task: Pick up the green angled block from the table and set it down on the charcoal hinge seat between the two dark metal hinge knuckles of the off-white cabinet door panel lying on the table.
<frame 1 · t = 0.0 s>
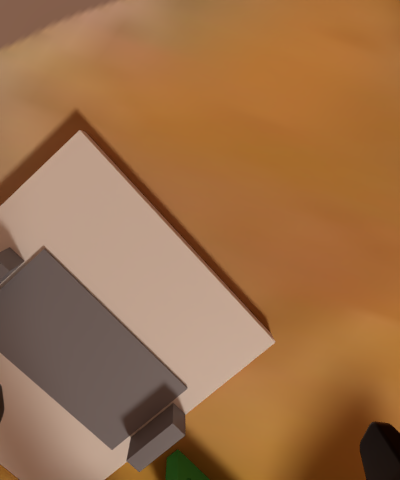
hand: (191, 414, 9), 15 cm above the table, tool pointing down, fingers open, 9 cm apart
door panel: (75, 335, 25), on the table
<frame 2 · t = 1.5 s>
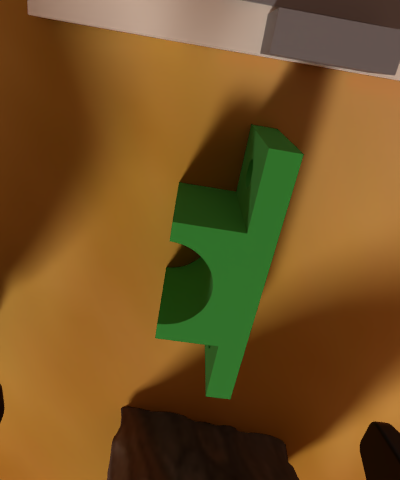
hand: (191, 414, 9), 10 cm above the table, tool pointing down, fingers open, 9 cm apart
green angled block: (212, 235, 18), on the table
grey brown rock block: (189, 456, 25), on the table
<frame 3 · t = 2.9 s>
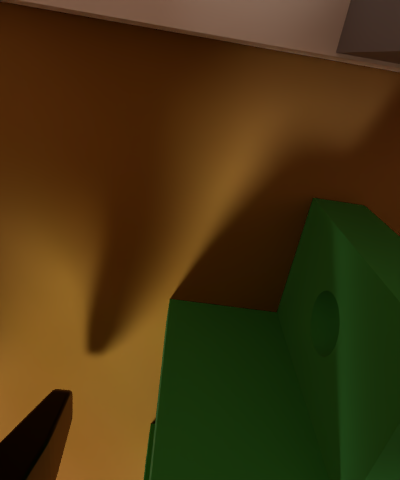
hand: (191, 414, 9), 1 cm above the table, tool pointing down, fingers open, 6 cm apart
green angled block: (230, 375, 10), on the table, touching gripper
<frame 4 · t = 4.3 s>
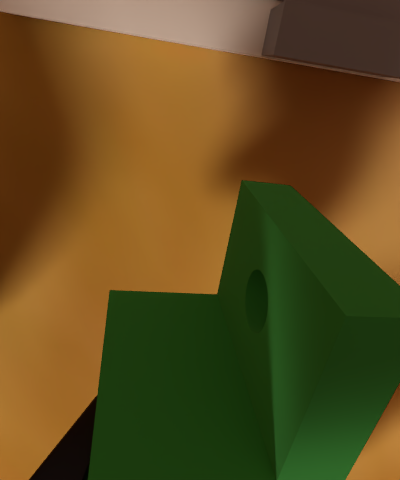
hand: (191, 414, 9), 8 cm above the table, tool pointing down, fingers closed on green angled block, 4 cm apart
green angled block: (178, 362, 10), point 6 cm above the table, touching gripper
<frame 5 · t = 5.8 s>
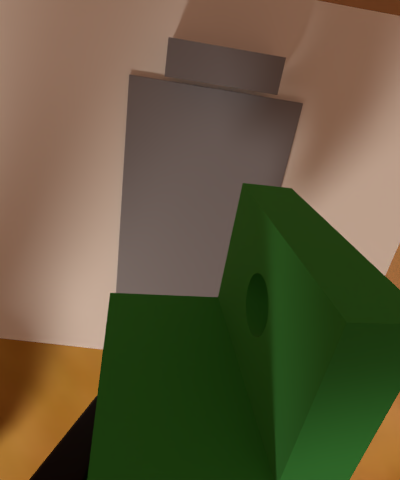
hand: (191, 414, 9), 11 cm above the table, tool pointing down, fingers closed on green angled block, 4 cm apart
green angled block: (179, 364, 10), point 9 cm above the table, touching gripper
door panel: (197, 205, 18), on the table
when the fingers open (3 cm above the table, at t = 7.9 s): green angled block stays where it is, resting on door panel.
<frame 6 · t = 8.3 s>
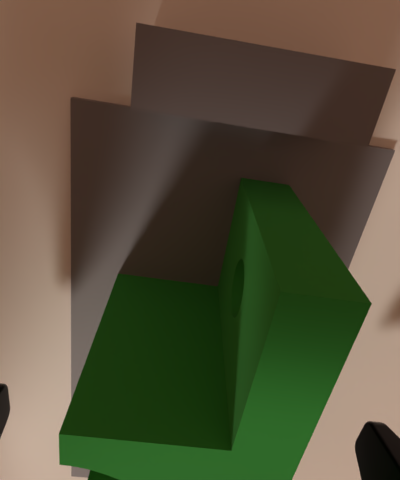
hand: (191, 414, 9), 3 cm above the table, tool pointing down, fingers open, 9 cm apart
green angled block: (181, 349, 11), point 1 cm above the table, touching door panel
door panel: (198, 297, 11), on the table
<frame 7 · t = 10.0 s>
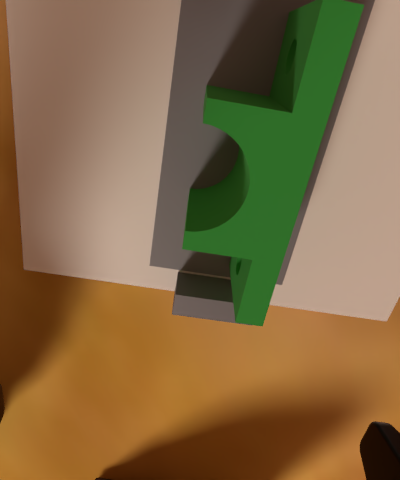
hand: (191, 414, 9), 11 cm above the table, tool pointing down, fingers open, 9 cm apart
green angled block: (240, 152, 16), point 1 cm above the table, touching door panel
door panel: (245, 123, 17), on the table
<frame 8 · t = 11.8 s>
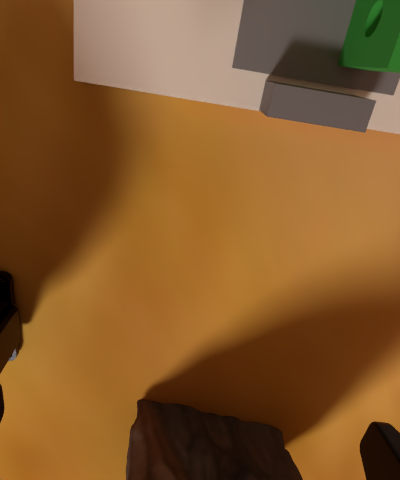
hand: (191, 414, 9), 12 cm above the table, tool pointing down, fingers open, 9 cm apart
grey brown rock block: (196, 444, 28), on the table
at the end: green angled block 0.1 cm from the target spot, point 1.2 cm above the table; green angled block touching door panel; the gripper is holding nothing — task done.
